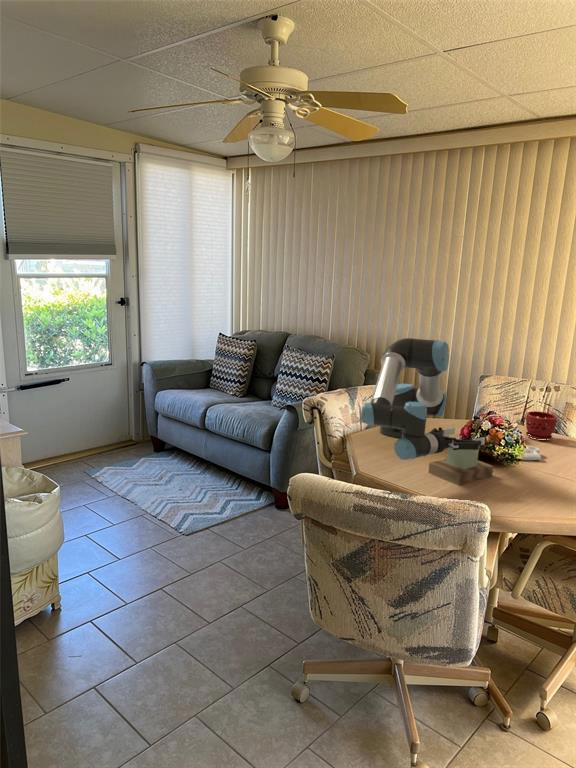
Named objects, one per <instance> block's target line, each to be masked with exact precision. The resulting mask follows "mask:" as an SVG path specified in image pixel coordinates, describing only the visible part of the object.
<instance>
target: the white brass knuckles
mask: <svg viewBox="0 0 576 768" xmlns="http://www.w3.org/2000/svg"><path fill="white" fill-rule="evenodd" d="M525 446H526V452H525V454H524V456H523V458H522V460H521V461H533V460H540V461H541V460H542V456H541V454H540V448H538V447H535V446H529V445H528V446H527V445H525Z"/></svg>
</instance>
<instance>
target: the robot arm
mask: <svg viewBox="0 0 576 768" xmlns="http://www.w3.org/2000/svg"><path fill="white" fill-rule="evenodd" d="M449 353H450V348H449V344H448V343H447V342H446V341H442V340H436V339H435V340H434V339H423V338H422V339H420V338H412V337H410V338H409V337H405V338H401V339H398V340H396V341H395V342H393V343H391V344H390V345H389V346H388V347H387V348H386V349H385V350H384V352H383V353H382V356H381V358H380V365H381V368H380V371H379V373H378V377H377V381H376V384H375V386H374V387H375V388H374V390H373V392H372V393H373V394H372V397H371V400H370V402H363V404H362V406H361V409H360V421H361V422H362V423H363V424H365V425H370V426H377V427H379V433H380V434H382V435H383V436H387V437H391V438H392V437H393V438H397V440H396V441H395V443H394V445H393V446H394V447H393V449H394V454H395V456H396V457H398V458H399V459H400V460H404V461H405V460H415V459H417V458H421V457H426V456H430V455H435V454H439V453H442V452H444V451H445V449H448V448H449V447H450V448H453V450H478V448H479V449H480V446H483V445H484V446H485V443H486V439H485V437H479V438H478V437H477V438H473V439H471V440H470V439H459V438H456V437H452V436H453V435H455V434H456V428H455V427H453V426H452V427H449V428H443V427H440V426H439V427H438V429H437V427H436V428H435V427H434V428H432V429H431V431H430V432H427V433H426V425H427V416H431V417H434V418H435V417H439V418H440V417H442V416H443V415H444V413H445V407H446V402H447V395H448V394H447V392H445V391H443V390H442V389H441V373H443V372H445V371H447V370H448V369H449V363H450V362H449V360H450V354H449ZM405 368H410V369H415V370H416V371H417V373H418V377H419V388H415V387H414V384H410V383H399V380H400V376H401V372H402V371H403V370H405ZM450 436H451V437H450ZM452 442H454V443H452Z"/></svg>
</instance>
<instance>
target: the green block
mask: <svg viewBox="0 0 576 768" xmlns="http://www.w3.org/2000/svg"><path fill="white" fill-rule="evenodd" d="M452 443H454V441H452ZM446 449H447V451H446V458H445V459H446V463H448V464H450V465H453V466H456V467H458V468H461V469H467V468H471V467H475V466H477V460H478V459H479V453H480V452H479V451H480V447H479V448H478V450H453V448H450V447H449V448H446ZM478 461H479V460H478Z"/></svg>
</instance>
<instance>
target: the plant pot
mask: <svg viewBox="0 0 576 768" xmlns="http://www.w3.org/2000/svg"><path fill="white" fill-rule="evenodd" d="M525 418H526V419H525V428H526V431H525V435H526V436H529V437H532V438H536V439H546V440H547V439H551V438H553V435H552V434H553V433H554V431H555V430H556V429H555V428H556V423H557V419H558V418H557V416H556V415H555V414H553V413H550V412H545V411H540V410H539V411H535V410H532V411H528V412H526V416H525ZM528 434H530V435H531V436H530V435H528ZM529 437H528V438H529ZM551 440H552V439H551Z"/></svg>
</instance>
